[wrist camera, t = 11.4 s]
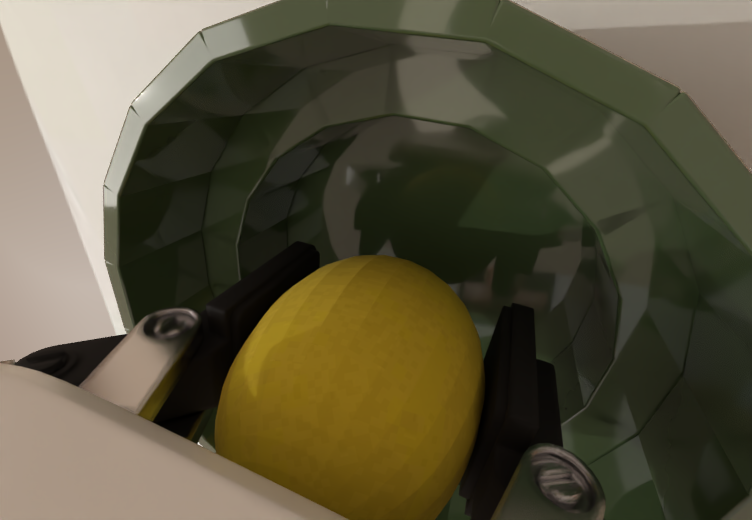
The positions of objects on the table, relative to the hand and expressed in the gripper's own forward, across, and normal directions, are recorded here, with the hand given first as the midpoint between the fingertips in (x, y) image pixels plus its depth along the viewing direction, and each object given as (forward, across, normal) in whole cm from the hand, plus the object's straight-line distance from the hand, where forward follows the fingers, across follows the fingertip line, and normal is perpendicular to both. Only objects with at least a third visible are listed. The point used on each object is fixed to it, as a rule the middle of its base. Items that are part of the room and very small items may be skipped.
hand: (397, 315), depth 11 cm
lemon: (+1, 0, 0) cm, 1 cm away
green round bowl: (+3, 0, 0) cm, 3 cm away
